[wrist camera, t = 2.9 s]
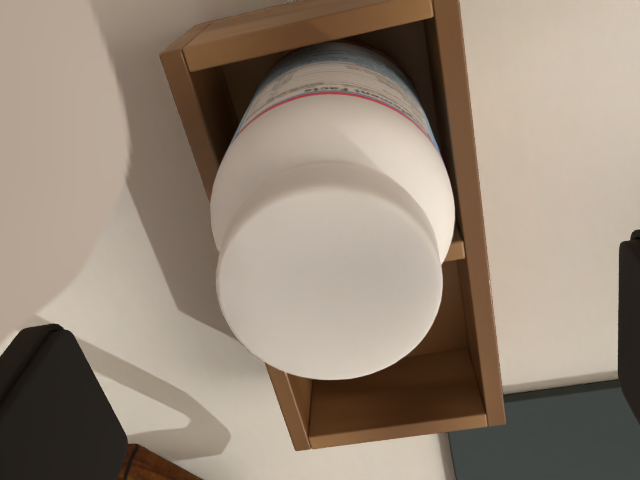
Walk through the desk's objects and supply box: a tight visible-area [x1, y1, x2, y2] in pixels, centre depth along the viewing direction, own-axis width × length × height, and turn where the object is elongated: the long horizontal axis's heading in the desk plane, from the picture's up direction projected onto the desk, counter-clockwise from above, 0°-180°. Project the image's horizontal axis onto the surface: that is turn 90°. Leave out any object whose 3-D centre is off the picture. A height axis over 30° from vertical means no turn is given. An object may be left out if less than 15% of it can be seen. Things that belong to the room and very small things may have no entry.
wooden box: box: [160, 0, 506, 451], centre depth 22 cm, size 8×16×5 cm, turn 13°
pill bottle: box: [210, 40, 455, 380], centre depth 17 cm, size 6×6×11 cm
